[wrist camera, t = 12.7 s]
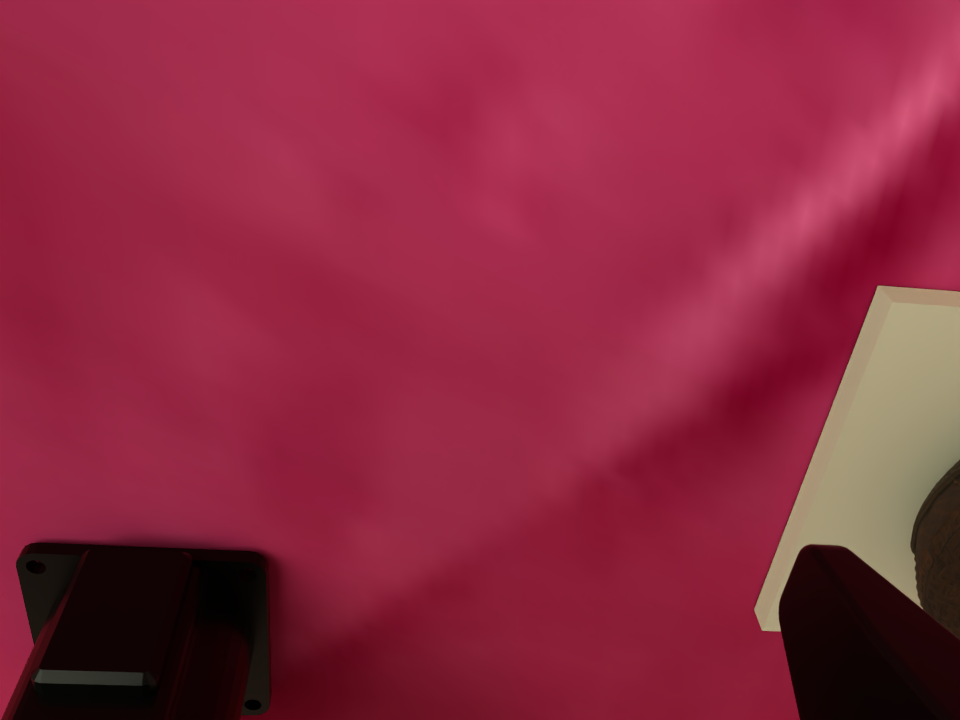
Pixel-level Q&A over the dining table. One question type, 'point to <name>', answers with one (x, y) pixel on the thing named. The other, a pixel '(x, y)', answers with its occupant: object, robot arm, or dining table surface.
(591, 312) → the dining table surface
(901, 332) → the cream square tile
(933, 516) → the mate gourd
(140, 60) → the dining table surface
